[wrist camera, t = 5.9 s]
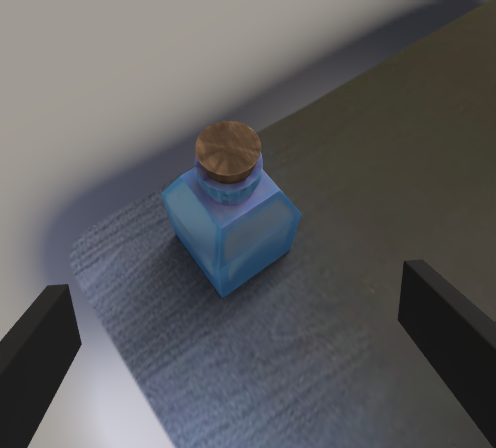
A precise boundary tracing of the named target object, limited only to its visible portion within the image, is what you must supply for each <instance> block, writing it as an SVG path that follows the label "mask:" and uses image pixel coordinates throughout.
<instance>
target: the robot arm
mask: <svg viewBox="0 0 496 448" xmlns="http://www.w3.org/2000/svg"><path fill="white" fill-rule="evenodd" d="M398 321H399V322H400V324H401V325H402V326H403V328H404V329H405V330H406V332H407V333H408V334H409V336H410V337H411V338H412V340H413V341H414V342H415V344H416V345H417V346H418V348H419V349H420V350H421V352H422V353H423V354H424V356H425V357H426V358H427V360H428V361H429V362H430V364H431V365H432V366H433V368H434V369H435V370H436V372H437V373H438V374H439V376H440V377H441V378H442V380H443V381H444V382H445V384H446V385H447V386H448V388H449V389H450V390H451V392H452V393H453V394H454V396H455V397H456V398H457V400H458V401H459V402H460V404H461V405H462V406H463V408H464V409H465V410H466V412H467V413H468V414H469V416H470V417H471V418H472V420H473V421H474V422H475V424H476V425H477V426H478V428H479V429H480V430H481V432H482V433H483V434H484V436H485V437H486V438H487V440H488V441H489V442H490V444H491V445H492V446H493V448H496V322H494V321H492V320H491V319H490V318H489V317H488V316H487V315H486V314H484V313H483V312H482V311H481V310H480V309H479V308H478V307H476V306H475V305H474V304H473V303H472V302H471V301H469V300H468V299H467V298H466V297H465V296H464V295H463V294H461V293H460V292H459V291H458V290H457V289H456V288H455V287H453V286H452V285H451V284H450V283H449V282H448V281H447V280H445V279H444V278H443V277H442V276H441V275H440V274H439V273H437V272H436V271H435V270H434V269H433V268H432V267H431V266H429V265H428V264H427V263H426V262H425V261H424V260H411V261H404V266H403V275H402V284H401V294H400V303H399V313H398ZM81 345H82V344H81V339H80V335H79V330H78V326H77V322H76V317H75V313H74V309H73V305H72V300H71V295H70V291H69V286H68V284H65V285H49V286H47V287H46V288H45V289H44V290H43V292H42V293H41V294H40V295H39V296H38V297H37V299H36V300H35V301H34V302H33V303H32V305H31V306H30V307H29V308H28V309H27V310H26V312H25V313H24V314H23V315H22V316H21V318H20V319H19V320H18V321H17V322H16V323H15V325H14V326H13V327H12V328H11V329H10V331H9V332H8V333H7V334H6V335H5V336H4V338H3V339H2V340H1V341H0V448H27V447H28V445H29V443H30V441H31V440H32V437H33V436H34V434H35V432H36V430H37V428H38V426H39V424H40V422H41V421H42V419H43V417H44V415H45V413H46V411H47V409H48V407H49V405H50V403H51V402H52V400H53V398H54V396H55V394H56V392H57V390H58V388H59V386H60V384H61V383H62V380H63V379H64V377H65V375H66V373H67V371H68V369H69V367H70V365H71V364H72V362H73V360H74V358H75V356H76V354H77V352H78V350H79V348H80V346H81Z"/></svg>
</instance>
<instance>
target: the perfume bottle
mask: <svg viewBox="0 0 496 448" xmlns="http://www.w3.org/2000/svg"><path fill="white" fill-rule="evenodd" d="M195 150H196V159H195V168H193V169H191V170H190V171H188V172H186V173H185V174H183V175H181V176H180V177H179V178H178V179H177V180H175V181H174V182H173V183H172V184H171V185H170V186H169V187H168V188H167V189H166V190H165V191H164V192H163V193H162V194H161V196H162V199H163V201H164V204H165V207H166V209H167V212H168V215H169V217H170V220H171V223H172V225H173V228H174V231H175V233H176V235H177V236H178V238H179V239H180V241H181V242H182V243H183V245H184V246H185V248H186V249H187V250H188V252H189V253H190V254H191V256H192V257H193V259H194V260H195V261H196V263H197V264H198V266H199V267H200V268H201V270H202V271H203V272H204V274H205V275H206V277H207V278H208V279H209V281H210V282H211V284H212V285H213V286H214V288H215V289H216V290H217V292H218V293H219V295H220V296H221V297H222V298H224V297H225V296H227V295H228V294H229V293H231V292H232V291H234V290H235V289H236V288H238V287H239V286H241V285H242V284H243V283H245V282H246V281H248V280H249V279H251V278H252V277H253V276H255V275H256V274H258V273H259V272H260V271H262V270H263V269H265V268H266V267H267V266H269V265H270V264H272V263H273V262H274V261H276V260H277V259H279V258H280V257H281V256H283V255H284V254H286V253H287V252H288V251H290V248H291V245H292V242H293V239H294V236H295V233H296V230H297V227H298V224H299V221H300V218H301V215H302V214H301V212H300V211H299V210H298V209H297V208H296V207H295V206H294V205H293V203H292V202H291V201H290V200H289V199H288V198H287V197H286V196H285V194H284V193H283V192H282V191H281V190H280V189H279V188H278V186H277V185H276V184H275V183H274V182H273V181H272V180H271V179H270V177H269V176H268V175H267V174H266V173H265V172H264V171H263V170H262V167H263V160H262V155H261V143H260V139H259V137H258V136H257V134H256V133H255V131H253V130H252V129H251V128H250V127H248V126H247V125H244V124H242V123H239V122H233V121H224V122H218V123H215V124H213V125H210V126H209V127H207V128H206V129H205V130H203V131H202V133H201V134H200V135H199V137H198V139H197V142H196V146H195Z"/></svg>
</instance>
